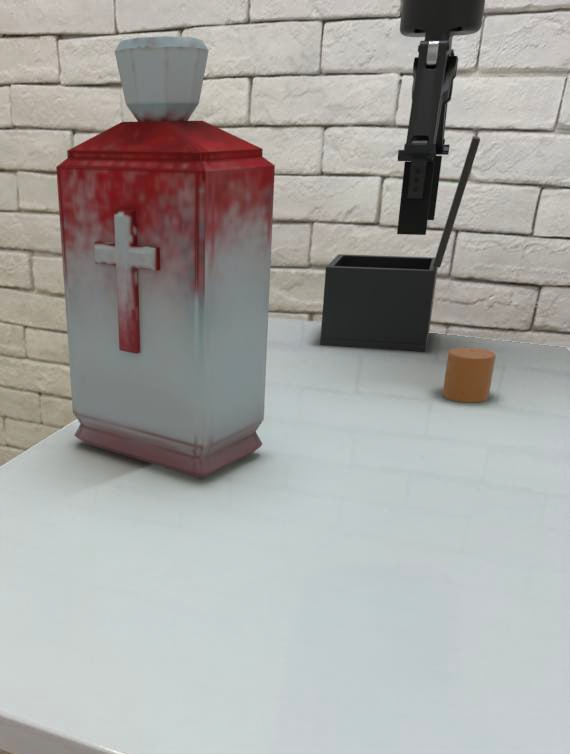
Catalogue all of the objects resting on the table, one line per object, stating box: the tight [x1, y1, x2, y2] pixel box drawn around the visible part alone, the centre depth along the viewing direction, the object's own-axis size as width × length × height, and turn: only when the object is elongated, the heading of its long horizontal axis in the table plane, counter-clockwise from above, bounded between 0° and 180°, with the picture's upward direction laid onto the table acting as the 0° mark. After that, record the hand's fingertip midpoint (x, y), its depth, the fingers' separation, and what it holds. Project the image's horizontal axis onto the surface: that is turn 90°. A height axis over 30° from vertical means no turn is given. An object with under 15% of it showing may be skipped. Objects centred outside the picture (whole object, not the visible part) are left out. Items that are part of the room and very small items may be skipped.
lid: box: [433, 135, 481, 268], centre depth 95 cm, size 13×11×1 cm
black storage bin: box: [319, 253, 439, 352], centre depth 102 cm, size 13×11×9 cm
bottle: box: [55, 35, 276, 480], centre depth 63 cm, size 14×10×30 cm
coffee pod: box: [441, 346, 497, 404], centre depth 81 cm, size 4×4×4 cm
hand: (416, 226), depth 86 cm, fingers open, 13 cm apart
